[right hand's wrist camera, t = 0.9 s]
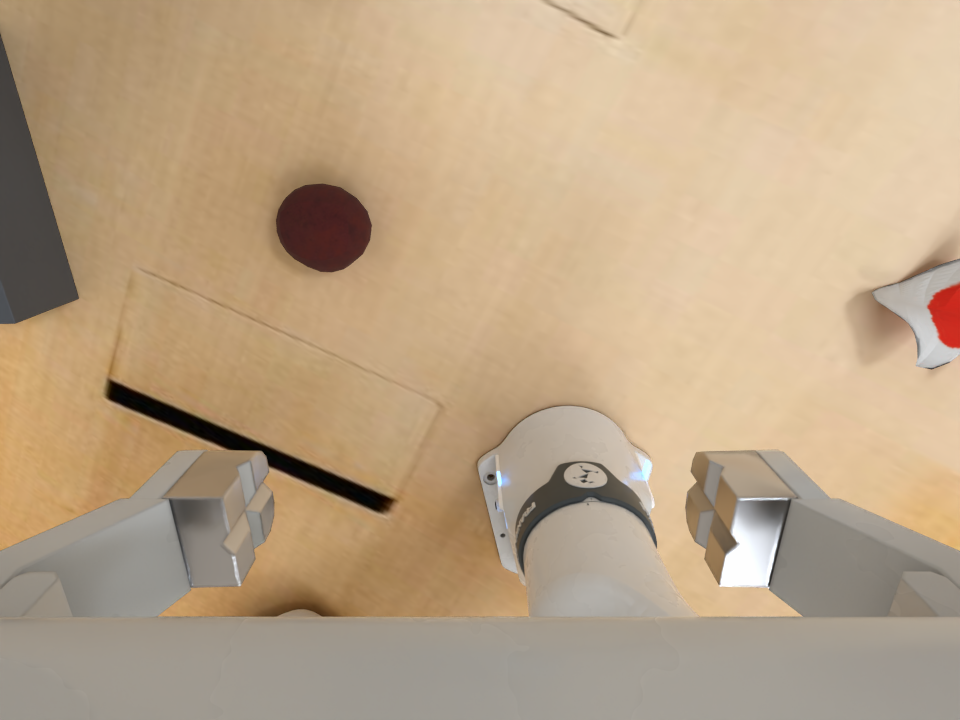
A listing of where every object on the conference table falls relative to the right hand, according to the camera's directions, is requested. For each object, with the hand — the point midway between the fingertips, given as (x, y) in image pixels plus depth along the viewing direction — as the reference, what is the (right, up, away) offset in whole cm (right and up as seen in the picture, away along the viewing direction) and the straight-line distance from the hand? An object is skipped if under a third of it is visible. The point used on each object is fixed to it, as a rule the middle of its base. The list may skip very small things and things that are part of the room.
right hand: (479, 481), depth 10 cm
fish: (+44, +7, +42) cm, 61 cm away
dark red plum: (-13, +15, +39) cm, 44 cm away
